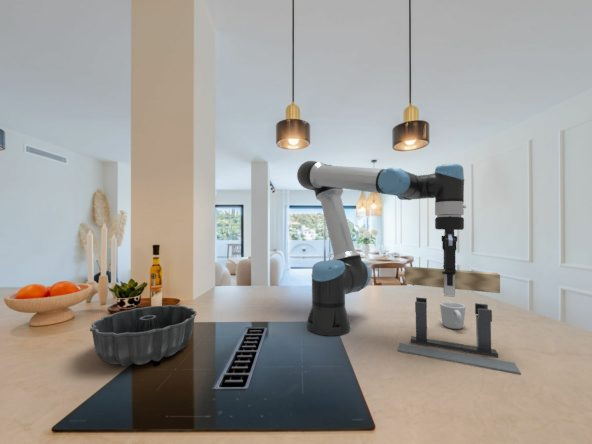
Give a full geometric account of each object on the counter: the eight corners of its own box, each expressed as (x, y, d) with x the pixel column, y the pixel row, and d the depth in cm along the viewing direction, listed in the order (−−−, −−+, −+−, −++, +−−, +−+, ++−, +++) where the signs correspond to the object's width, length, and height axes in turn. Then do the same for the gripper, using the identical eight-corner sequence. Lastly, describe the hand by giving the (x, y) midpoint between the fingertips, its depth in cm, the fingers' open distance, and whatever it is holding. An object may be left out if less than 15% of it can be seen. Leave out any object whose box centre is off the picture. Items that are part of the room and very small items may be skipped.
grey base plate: (397, 351, 78) (397, 349, 78) (399, 344, 83) (399, 342, 83) (521, 374, 65) (520, 372, 65) (514, 364, 70) (514, 362, 70)
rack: (410, 345, 82) (409, 301, 82) (411, 336, 88) (411, 296, 89) (499, 360, 72) (498, 311, 73) (494, 350, 79) (493, 305, 79)
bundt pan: (106, 340, 85) (107, 308, 85) (195, 330, 94) (196, 301, 95) (70, 386, 60) (72, 340, 61) (196, 365, 70) (197, 326, 70)
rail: (405, 284, 85) (405, 268, 85) (406, 281, 88) (406, 266, 88) (500, 293, 74) (500, 274, 74) (496, 290, 78) (496, 272, 78)
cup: (473, 334, 90) (472, 310, 91) (447, 333, 92) (446, 309, 92) (460, 323, 101) (460, 302, 101) (437, 322, 102) (437, 301, 103)
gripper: (467, 215, 72) (467, 303, 72) (460, 217, 88) (460, 290, 87) (435, 215, 76) (435, 299, 75) (434, 217, 91) (434, 287, 90)
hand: (449, 294), depth 81 cm, fingers closed on rail, 4 cm apart
